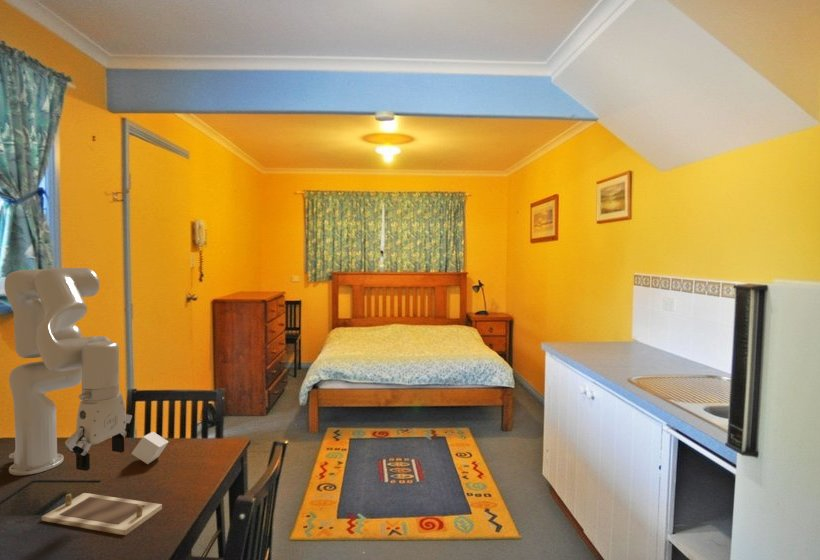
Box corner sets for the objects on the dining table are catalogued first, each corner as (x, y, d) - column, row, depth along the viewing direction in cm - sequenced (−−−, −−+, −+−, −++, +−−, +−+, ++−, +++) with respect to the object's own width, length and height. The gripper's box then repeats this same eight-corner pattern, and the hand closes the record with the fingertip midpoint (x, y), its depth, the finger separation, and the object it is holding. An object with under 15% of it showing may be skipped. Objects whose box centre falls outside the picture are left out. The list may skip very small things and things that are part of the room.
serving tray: (41, 521, 106) (41, 506, 106) (84, 497, 117) (83, 483, 116) (125, 535, 101) (125, 519, 101) (162, 508, 112) (161, 494, 111)
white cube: (141, 447, 140) (153, 431, 140) (157, 458, 140) (168, 441, 140) (131, 453, 134) (143, 436, 134) (147, 464, 134) (159, 447, 135)
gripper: (80, 405, 98) (81, 479, 99) (142, 383, 115) (142, 447, 116) (53, 402, 100) (54, 475, 101) (118, 381, 117) (118, 443, 118)
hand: (101, 460), depth 108 cm, fingers open, 9 cm apart
